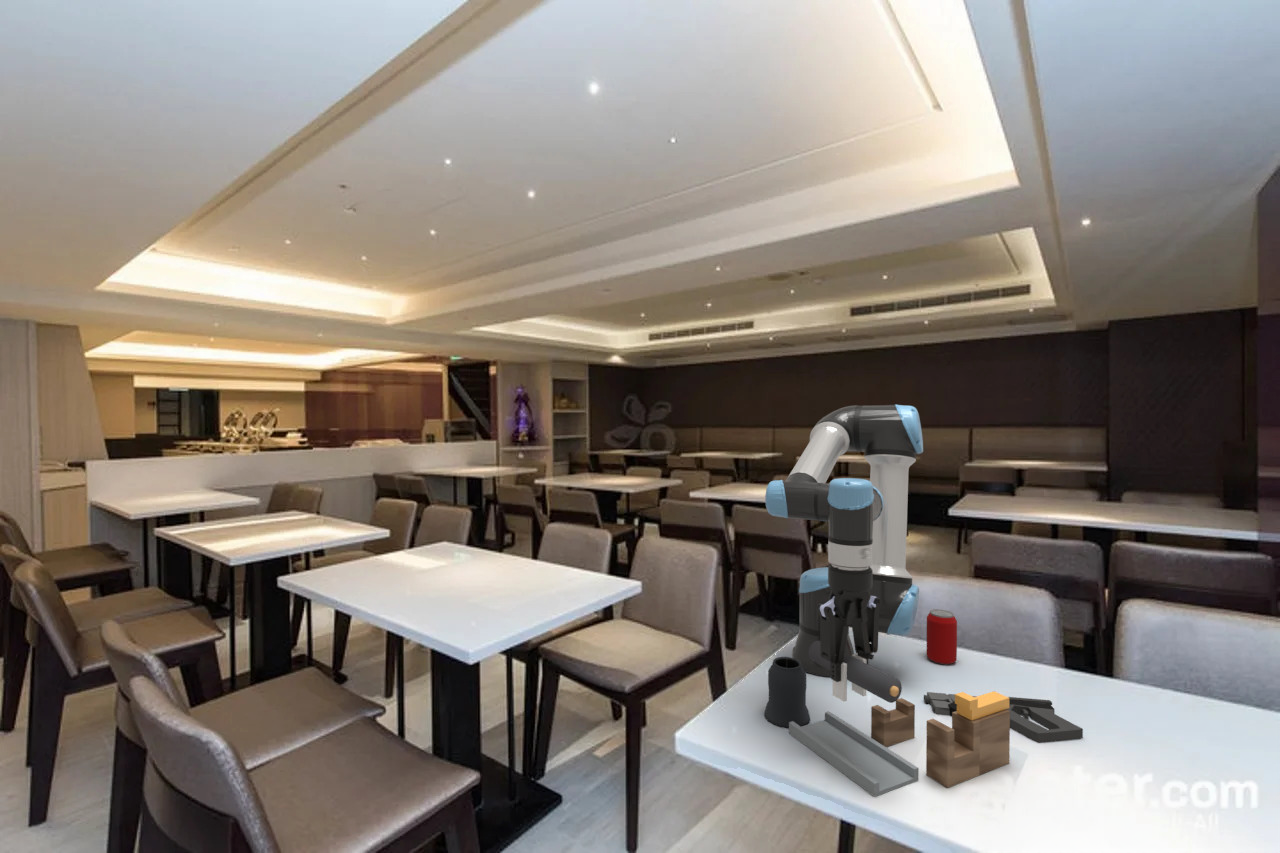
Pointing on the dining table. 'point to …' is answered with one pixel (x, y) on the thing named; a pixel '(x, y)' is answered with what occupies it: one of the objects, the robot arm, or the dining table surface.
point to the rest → (893, 723)
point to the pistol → (1020, 717)
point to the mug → (787, 693)
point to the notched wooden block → (967, 747)
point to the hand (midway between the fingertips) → (849, 695)
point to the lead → (863, 675)
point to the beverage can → (941, 636)
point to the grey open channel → (856, 754)
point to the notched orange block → (980, 704)
